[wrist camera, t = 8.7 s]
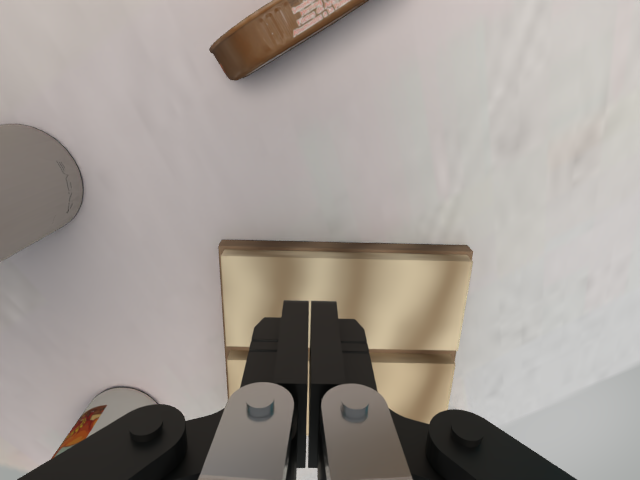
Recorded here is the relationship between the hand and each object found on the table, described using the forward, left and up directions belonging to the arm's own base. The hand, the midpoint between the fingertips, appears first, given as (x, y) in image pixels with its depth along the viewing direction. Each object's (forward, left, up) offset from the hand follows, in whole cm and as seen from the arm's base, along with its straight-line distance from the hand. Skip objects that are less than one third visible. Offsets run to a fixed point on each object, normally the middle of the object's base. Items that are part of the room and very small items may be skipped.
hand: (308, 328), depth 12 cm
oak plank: (+3, -11, -23) cm, 26 cm away
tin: (0, +11, -25) cm, 27 cm away
